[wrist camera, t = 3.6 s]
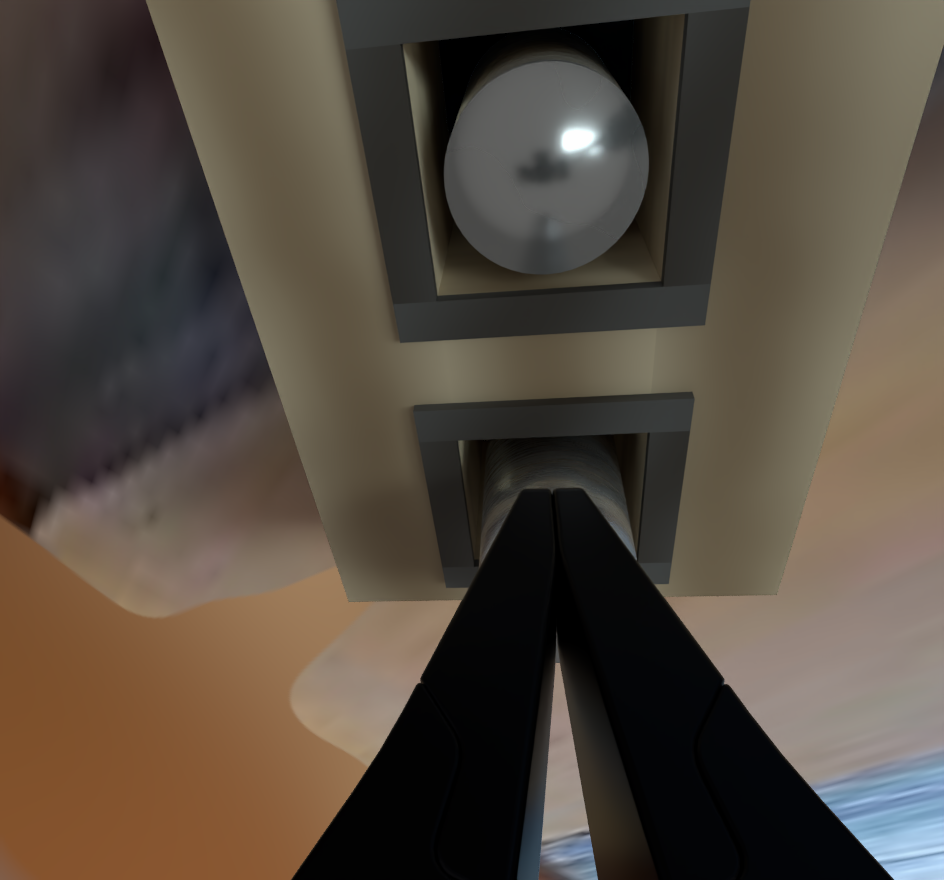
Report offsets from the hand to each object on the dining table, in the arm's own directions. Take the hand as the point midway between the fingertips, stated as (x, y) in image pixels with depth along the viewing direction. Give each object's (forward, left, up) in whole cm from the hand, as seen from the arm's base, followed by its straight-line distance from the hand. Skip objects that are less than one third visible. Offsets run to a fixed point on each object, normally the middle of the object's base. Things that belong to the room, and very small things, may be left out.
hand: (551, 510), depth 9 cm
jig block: (0, +2, -13) cm, 13 cm away
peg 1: (0, -2, -13) cm, 13 cm away
